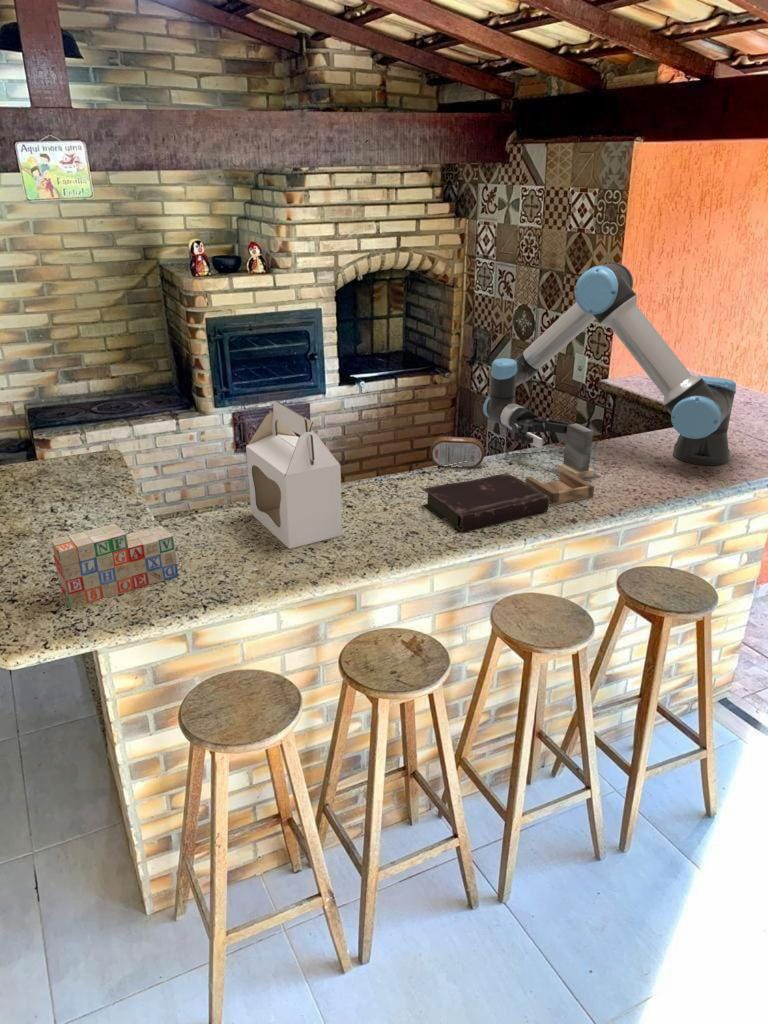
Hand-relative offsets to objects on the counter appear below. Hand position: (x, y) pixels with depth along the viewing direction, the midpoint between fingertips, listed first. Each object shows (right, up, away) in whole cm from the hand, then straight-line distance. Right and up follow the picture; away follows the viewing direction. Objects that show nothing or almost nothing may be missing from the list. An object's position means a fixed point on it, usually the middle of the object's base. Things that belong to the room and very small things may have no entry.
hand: (562, 440), depth 208 cm
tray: (-4, -15, -14) cm, 21 cm away
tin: (-29, -7, +4) cm, 30 cm away
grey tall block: (+3, -9, -2) cm, 10 cm away
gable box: (-69, -23, -31) cm, 79 cm away
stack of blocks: (-101, -34, -57) cm, 121 cm away
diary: (-24, -19, -22) cm, 38 cm away
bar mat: (+3, -10, -2) cm, 10 cm away
